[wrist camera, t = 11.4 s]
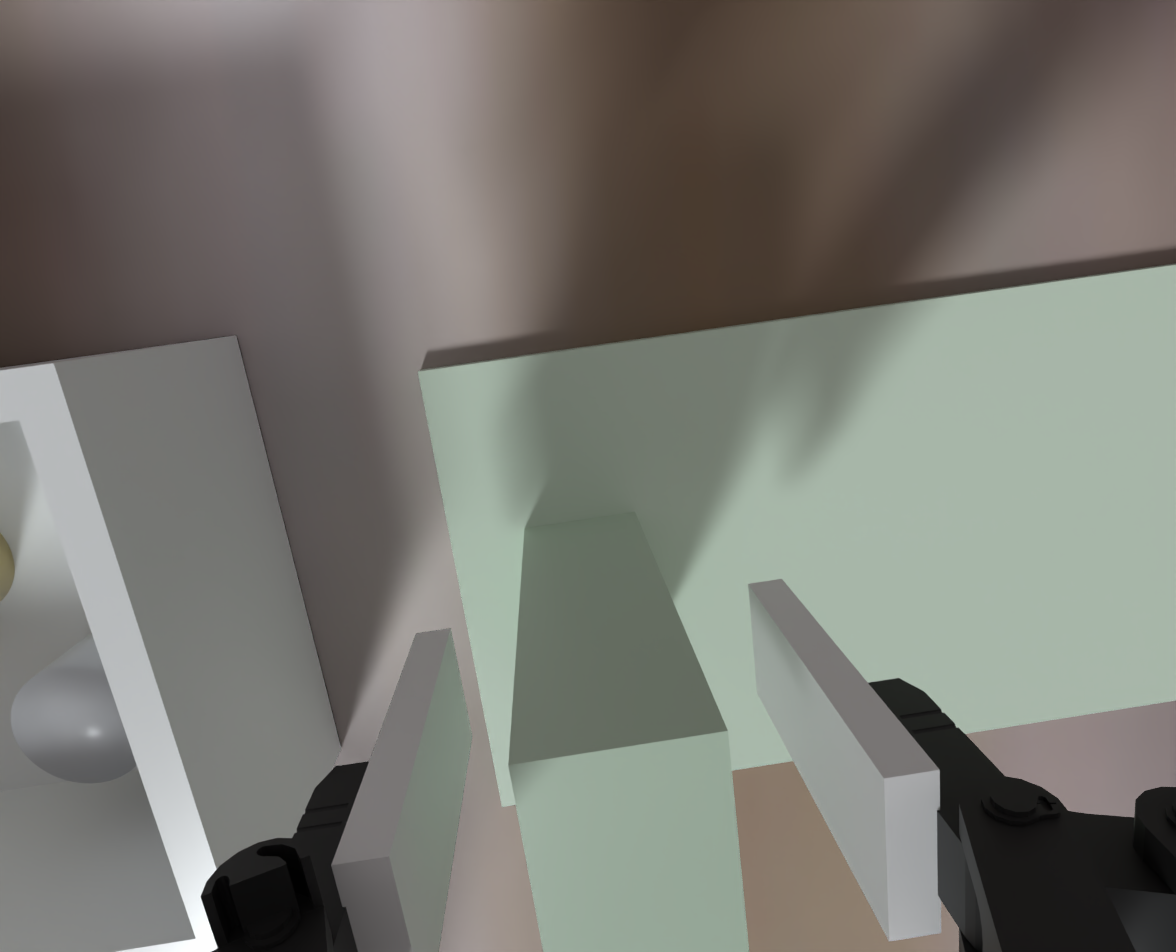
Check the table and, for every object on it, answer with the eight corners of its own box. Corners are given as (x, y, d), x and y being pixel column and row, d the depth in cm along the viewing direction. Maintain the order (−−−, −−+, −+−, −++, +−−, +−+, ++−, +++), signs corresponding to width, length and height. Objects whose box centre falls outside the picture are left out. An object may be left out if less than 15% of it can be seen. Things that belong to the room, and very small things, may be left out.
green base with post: (503, 789, 22) (469, 1228, 12) (423, 368, 19) (278, 464, 9) (1163, 685, 23) (1686, 1017, 12) (1196, 259, 20) (1948, 224, 9)
